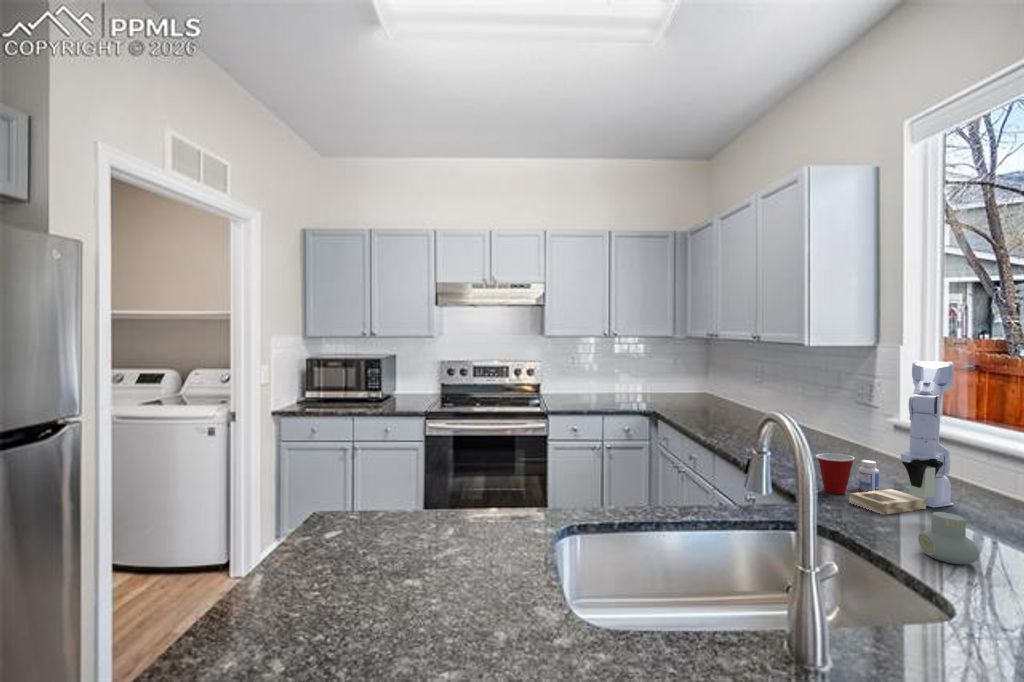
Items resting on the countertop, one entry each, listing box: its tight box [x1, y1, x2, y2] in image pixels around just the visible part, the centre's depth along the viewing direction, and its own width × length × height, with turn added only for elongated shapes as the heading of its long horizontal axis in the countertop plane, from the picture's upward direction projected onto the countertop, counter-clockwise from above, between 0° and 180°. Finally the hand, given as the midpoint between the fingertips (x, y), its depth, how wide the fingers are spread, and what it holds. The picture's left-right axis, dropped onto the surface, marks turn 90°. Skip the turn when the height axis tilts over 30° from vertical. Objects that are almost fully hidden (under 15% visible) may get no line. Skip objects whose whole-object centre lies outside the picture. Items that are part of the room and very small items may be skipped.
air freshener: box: [917, 511, 980, 566], centre depth 113 cm, size 11×8×10 cm
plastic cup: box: [815, 452, 856, 495], centre depth 163 cm, size 11×11×12 cm
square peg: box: [908, 466, 935, 498], centre depth 139 cm, size 4×4×8 cm
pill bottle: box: [858, 459, 880, 492], centre depth 165 cm, size 6×5×10 cm
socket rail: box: [848, 488, 927, 515], centre depth 149 cm, size 18×10×3 cm, turn 108°
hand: (921, 485), depth 139 cm, fingers closed on square peg, 4 cm apart
